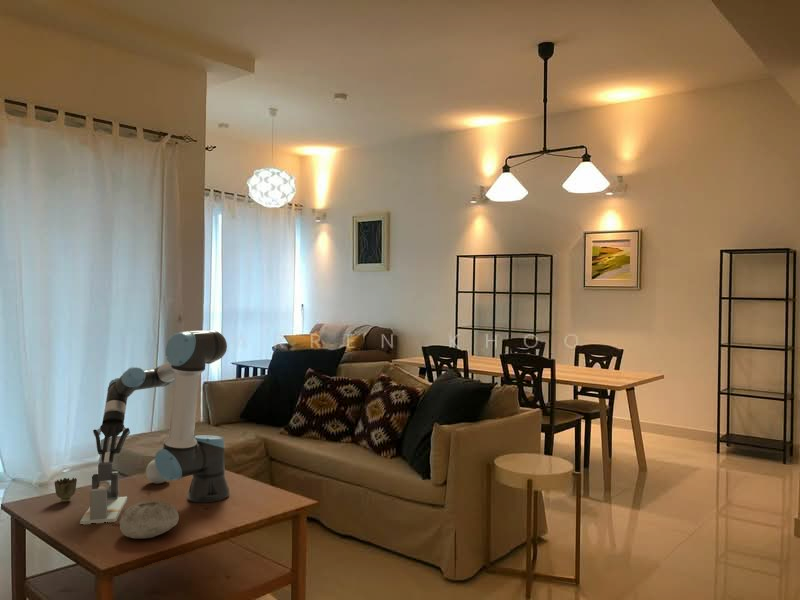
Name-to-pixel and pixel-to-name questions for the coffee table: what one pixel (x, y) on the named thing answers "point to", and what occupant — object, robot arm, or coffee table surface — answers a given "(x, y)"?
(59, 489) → the cup
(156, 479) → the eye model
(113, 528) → the coffee table surface
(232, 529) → the coffee table surface
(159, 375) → the robot arm
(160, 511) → the grey stone
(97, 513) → the pipe stand
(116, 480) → the collar
